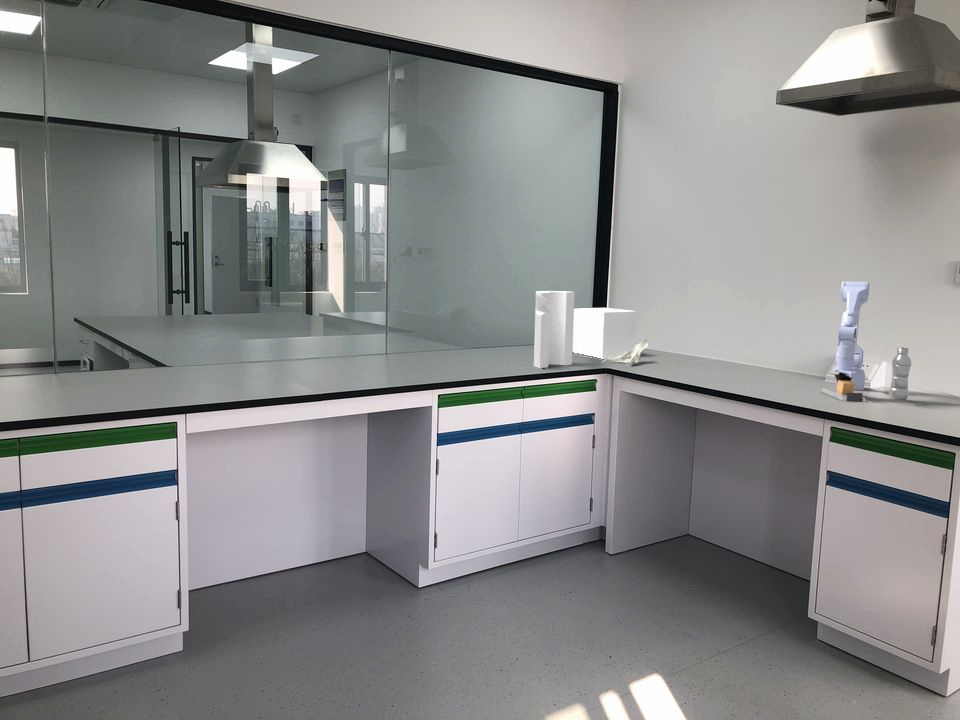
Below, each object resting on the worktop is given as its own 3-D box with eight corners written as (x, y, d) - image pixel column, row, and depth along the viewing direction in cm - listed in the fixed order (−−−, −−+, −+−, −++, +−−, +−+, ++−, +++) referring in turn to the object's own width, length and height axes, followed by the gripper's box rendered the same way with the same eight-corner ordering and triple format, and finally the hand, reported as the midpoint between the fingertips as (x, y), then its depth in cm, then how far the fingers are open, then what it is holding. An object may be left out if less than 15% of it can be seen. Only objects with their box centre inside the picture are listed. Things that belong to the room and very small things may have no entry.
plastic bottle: (901, 398, 293) (906, 347, 291) (911, 402, 287) (916, 349, 284) (884, 398, 293) (889, 346, 290) (894, 402, 286) (899, 349, 284)
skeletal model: (599, 364, 372) (626, 327, 381) (608, 376, 377) (634, 340, 386) (624, 367, 360) (651, 329, 369) (633, 380, 364) (659, 343, 373)
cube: (634, 358, 397) (636, 311, 394) (602, 360, 387) (604, 312, 383) (603, 352, 419) (605, 307, 415) (572, 354, 408) (574, 308, 405)
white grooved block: (573, 365, 364) (541, 369, 351) (556, 362, 373) (524, 366, 360) (575, 292, 359) (543, 292, 346) (558, 290, 368) (526, 291, 355)
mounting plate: (843, 394, 300) (844, 385, 299) (866, 403, 282) (867, 393, 281) (819, 394, 300) (820, 384, 299) (840, 403, 282) (841, 393, 281)
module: (847, 395, 292) (849, 380, 290) (852, 398, 288) (854, 383, 286) (836, 394, 292) (838, 379, 290) (841, 398, 288) (843, 383, 286)
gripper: (826, 354, 297) (823, 389, 299) (843, 360, 282) (840, 396, 284) (844, 355, 297) (841, 389, 299) (863, 360, 282) (859, 396, 284)
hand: (842, 393), depth 292 cm, fingers closed, pressing on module
